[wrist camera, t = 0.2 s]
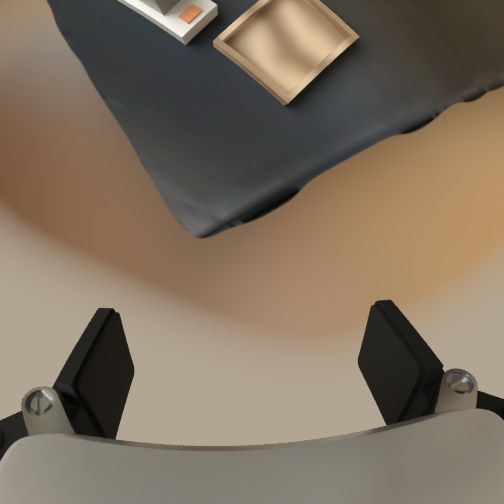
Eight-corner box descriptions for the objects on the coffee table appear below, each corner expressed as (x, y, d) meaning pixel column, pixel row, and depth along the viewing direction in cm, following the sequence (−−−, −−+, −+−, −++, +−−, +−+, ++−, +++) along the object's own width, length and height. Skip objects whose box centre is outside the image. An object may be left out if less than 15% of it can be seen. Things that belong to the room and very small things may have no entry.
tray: (286, -15, 29) (289, -23, 26) (352, 41, 32) (359, 36, 30) (213, 47, 32) (212, 41, 30) (284, 105, 36) (287, 103, 33)
